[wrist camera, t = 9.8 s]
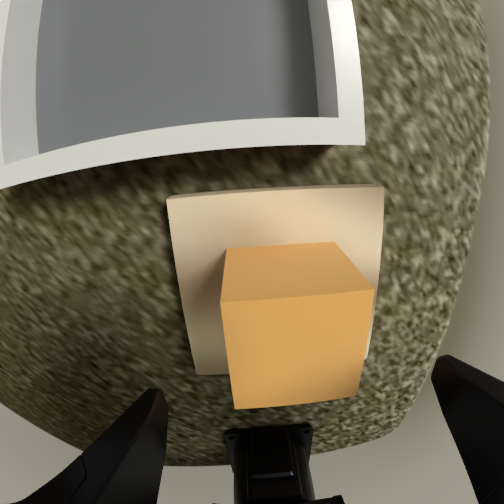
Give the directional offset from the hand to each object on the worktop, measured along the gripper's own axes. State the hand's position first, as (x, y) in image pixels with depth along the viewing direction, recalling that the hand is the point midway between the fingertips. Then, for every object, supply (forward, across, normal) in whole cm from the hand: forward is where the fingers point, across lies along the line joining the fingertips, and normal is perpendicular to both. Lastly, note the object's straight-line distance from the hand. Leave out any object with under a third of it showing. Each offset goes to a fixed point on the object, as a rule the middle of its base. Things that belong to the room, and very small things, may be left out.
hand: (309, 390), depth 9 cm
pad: (+8, 0, 0) cm, 8 cm away
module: (+7, 0, 0) cm, 7 cm away
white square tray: (+8, +5, -15) cm, 18 cm away
